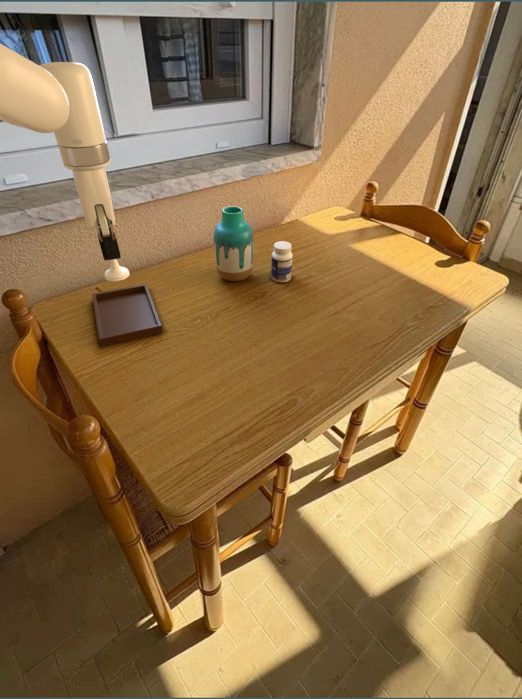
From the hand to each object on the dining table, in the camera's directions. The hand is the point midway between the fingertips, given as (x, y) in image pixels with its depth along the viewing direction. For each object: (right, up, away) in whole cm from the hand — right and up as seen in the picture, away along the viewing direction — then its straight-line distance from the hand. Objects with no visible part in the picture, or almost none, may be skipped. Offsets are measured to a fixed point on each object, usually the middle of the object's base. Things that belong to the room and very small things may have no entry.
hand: (111, 255), depth 76 cm
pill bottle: (+35, +1, +32) cm, 47 cm away
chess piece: (0, -4, +3) cm, 5 cm away
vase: (+22, +1, +31) cm, 39 cm away
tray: (-3, -11, +17) cm, 20 cm away
